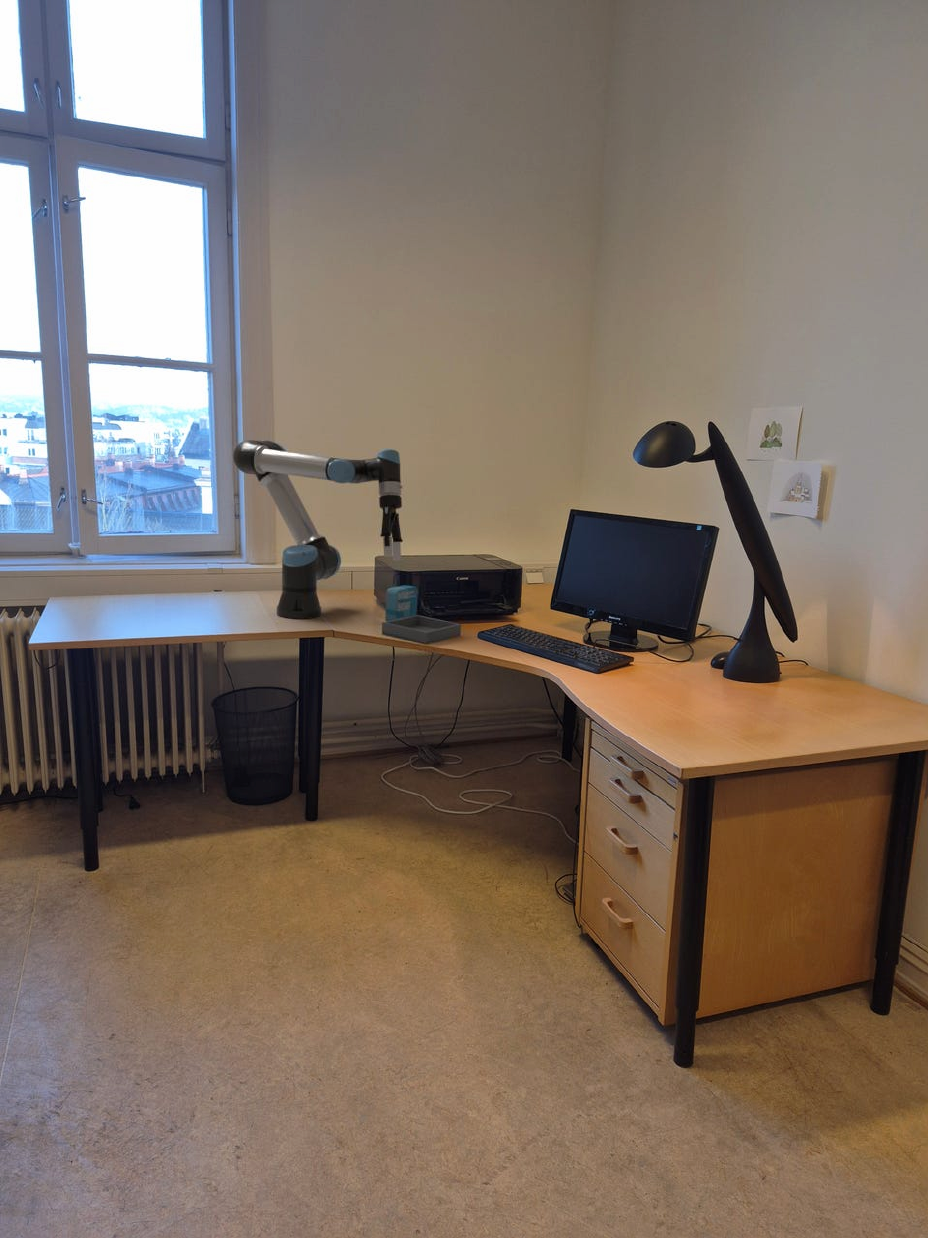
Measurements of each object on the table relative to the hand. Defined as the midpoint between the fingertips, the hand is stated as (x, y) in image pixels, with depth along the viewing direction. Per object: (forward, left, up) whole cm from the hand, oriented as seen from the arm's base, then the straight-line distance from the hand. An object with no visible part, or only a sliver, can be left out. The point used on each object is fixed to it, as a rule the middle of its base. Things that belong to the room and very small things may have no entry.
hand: (392, 559), depth 255 cm
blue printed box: (+2, +3, -22) cm, 22 cm away
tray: (+19, -7, -22) cm, 30 cm away
